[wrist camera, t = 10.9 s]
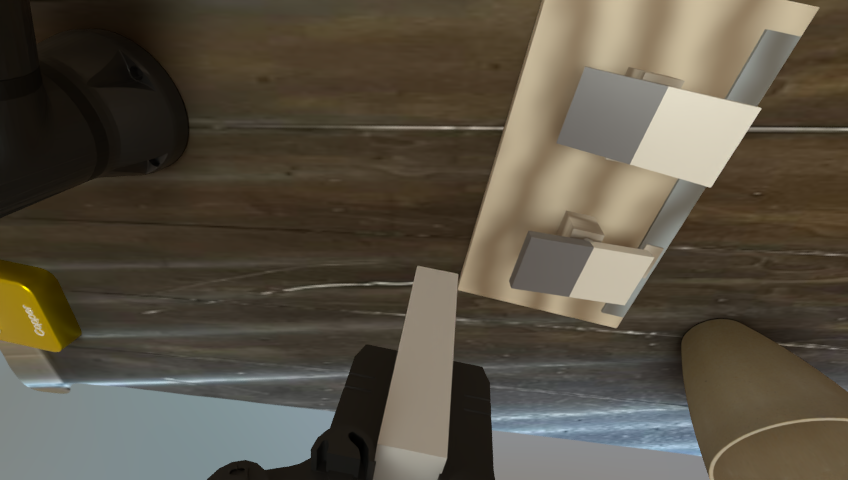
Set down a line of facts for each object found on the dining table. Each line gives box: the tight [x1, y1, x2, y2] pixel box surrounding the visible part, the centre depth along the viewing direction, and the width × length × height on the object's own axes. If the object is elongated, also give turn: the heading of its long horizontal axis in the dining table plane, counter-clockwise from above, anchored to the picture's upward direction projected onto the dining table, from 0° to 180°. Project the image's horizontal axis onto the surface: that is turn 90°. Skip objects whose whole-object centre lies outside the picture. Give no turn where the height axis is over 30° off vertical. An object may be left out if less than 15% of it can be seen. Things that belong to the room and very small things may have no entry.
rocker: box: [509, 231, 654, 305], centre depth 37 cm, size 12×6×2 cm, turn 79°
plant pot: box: [681, 319, 848, 480], centre depth 40 cm, size 15×15×16 cm
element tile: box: [0, 260, 82, 352], centre depth 61 cm, size 15×15×5 cm
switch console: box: [458, 0, 819, 328], centre depth 37 cm, size 20×34×6 cm, turn 169°
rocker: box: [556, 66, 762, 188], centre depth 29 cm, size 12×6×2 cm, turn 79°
